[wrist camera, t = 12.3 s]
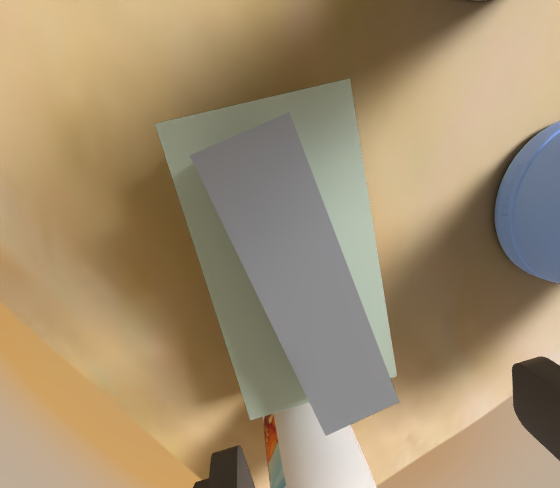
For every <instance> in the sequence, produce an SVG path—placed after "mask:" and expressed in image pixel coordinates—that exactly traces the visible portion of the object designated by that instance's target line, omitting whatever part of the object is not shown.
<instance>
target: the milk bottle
mask: <svg viewBox="0 0 560 488" xmlns="http://www.w3.org/2000/svg"><path fill="white" fill-rule="evenodd" d="M263 425H264V435H265V444H266V453H267V463H268V471H269V480H270V488H377V487H376V484H375V482H374V479H373V477H372V474H371V472H370V469H369V467H368V464H367V462H366V460H365V457H364V455H363V453H362V450H361V448H360V446H359V443H358V441H357V438H356V436H355V434H354V432H353V429H352V427H351V425H349V426H347V427H344V428H342V429H340V430H338V431H336V432H334V433H331V434H329V435H327V436H325V434H324V432H323V429H322V427H321V425H320V423H319V421H318V419H317V417H316V415H315V413H314V411H313V409H312V407H311V405H310V403H307V404H303V405H300V406H297V407H293V408H290V409H287V410H283V411H280V412H277V413H273V414H270V415H267V416H264V417H263Z"/></svg>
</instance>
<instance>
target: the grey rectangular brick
mask: <svg viewBox="0 0 560 488" xmlns="http://www.w3.org/2000/svg"><path fill="white" fill-rule="evenodd" d="M190 157H191V159H192V162H193V164H194V166H195V168H196V170H197V172H198V174H199V176H200V178H201V180H202V182H203V184H204V186H205V188H206V190H207V192H208V195H209V197H210V199H211V201H212V203H213V205H214V207H215V209H216V211H217V213H218V215H219V217H220V219H221V221H222V223H223V225H224V227H225V230H226V232H227V234H228V236H229V238H230V240H231V242H232V244H233V246H234V248H235V250H236V252H237V254H238V256H239V258H240V260H241V263H242V265H243V267H244V269H245V271H246V273H247V275H248V277H249V279H250V281H251V283H252V285H253V287H254V289H255V291H256V293H257V296H258V298H259V300H260V302H261V304H262V306H263V308H264V310H265V312H266V314H267V316H268V318H269V320H270V322H271V324H272V326H273V328H274V331H275V333H276V335H277V337H278V339H279V341H280V343H281V345H282V347H283V349H284V351H285V353H286V355H287V357H288V359H289V361H290V364H291V366H292V368H293V370H294V372H295V374H296V376H297V378H298V380H299V382H300V384H301V386H302V388H303V390H304V392H305V394H306V397H307V399H308V401H309V403H310V405H311V407H312V409H313V411H314V413H315V415H316V417H317V419H318V421H319V423H320V425H321V427H322V429H323V432H324V434H325V436H327V435H329V434H331V433H334V432H336V431H338V430H340V429H342V428H344V427H347V426H349V425H351V424H353V423H355V422H357V421H359V420H362V419H364V418H366V417H368V416H370V415H372V414H375V413H377V412H379V411H381V410H383V409H385V408H388V407H390V406H392V405H394V404H396V403H398V402H399V400H398V397H397V394H396V392H395V389H394V386H393V384H392V381H391V379H390V376H389V373H388V371H387V368H386V365H385V363H384V360H383V357H382V355H381V352H380V350H379V347H378V344H377V342H376V339H375V336H374V334H373V331H372V329H371V326H370V323H369V321H368V318H367V315H366V313H365V310H364V307H363V305H362V302H361V300H360V297H359V294H358V292H357V289H356V286H355V284H354V281H353V279H352V276H351V273H350V271H349V268H348V265H347V263H346V260H345V258H344V255H343V252H342V250H341V247H340V244H339V242H338V239H337V236H336V234H335V231H334V229H333V226H332V223H331V221H330V218H329V215H328V213H327V210H326V208H325V205H324V202H323V200H322V197H321V194H320V192H319V189H318V186H317V184H316V181H315V179H314V176H313V173H312V171H311V168H310V165H309V163H308V160H307V158H306V155H305V152H304V150H303V147H302V144H301V142H300V139H299V136H298V134H297V131H296V129H295V126H294V123H293V121H292V118H291V115H290V113H289V112H288V113H286V114H284V115H281V116H279V117H277V118H274V119H272V120H270V121H268V122H265V123H263V124H261V125H258V126H256V127H254V128H252V129H249V130H247V131H245V132H242V133H240V134H238V135H236V136H233V137H231V138H229V139H226V140H224V141H222V142H219V143H217V144H215V145H213V146H210V147H208V148H206V149H203V150H201V151H199V152H197V153H194V154H192V155H190Z"/></svg>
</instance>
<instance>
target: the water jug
mask: <svg viewBox="0 0 560 488" xmlns="http://www.w3.org/2000/svg"><path fill="white" fill-rule="evenodd" d="M495 227H496V232H497V236H498V239H499V242H500V244H501V247H502V249H503V250H504V252H505V254H506V255H507V256H508V258H509V259H510V260H511V261H512V262H513V263H514V264H515V265H516V266H517V267H519V268H520V269H522V270H523V271H525V272H527V273H529V274H531V275H534V276H536V277H539V278H541V279H544V280H547V281H550V282H554V283H559V284H560V121H558V122H556V123H554V124H552V125H550V126H548V127H547V128H545V129H544V130H542V131H541V132H539V133H538V134H537V135H536V136H534V137H533V138H532V139H531V140H530V141H529V142H528V143H527V144H526V145H525V146H524V147H523V148H522V149H521V150H520V151H519V153H518V154H517V155H516V156H515V158H514V159H513V161H512V162H511V164H510V165H509V167H508V169H507V171H506V173H505V175H504V177H503V179H502V182H501V184H500V187H499V191H498V194H497V199H496V205H495Z"/></svg>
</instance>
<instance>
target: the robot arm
mask: <svg viewBox="0 0 560 488" xmlns="http://www.w3.org/2000/svg"><path fill="white" fill-rule="evenodd" d="M472 1H485V0H472ZM512 381H513V405H514V410H515V413H516V415H517V417H518V419H519V420H520V422H521V423H522V425H523V426H524V427H525V428H526V429H527V430H528V432H530V433H531V434H532V435H533V436H534V437H535V438H536V439H537V440H538V441H539V442H540V443H541V444H542V445H543V446H544V447H546V448H547V449H548V450H549V451H550V452H551V453H552V454H553V455H554V456H555V457H556V458H557V459H559V461H560V366H559V365H558V364H556V363H555V362H553V361H551V360H550V359H548V358H546V357H536V358H533V359H530V360H526V361H523V362H520V363H516V364H514V365H513V367H512ZM193 488H255V485H254V482H253V479H252V477H251V474H250V471H249V468H248V465H247V462H246V459H245V457H244V454H243V451H242V448H241V446H240V445H238V446H235V447H232V448H228V449H225V450H222V451H218V452H215V453H213V454H212V457H211V464H210V475H209V478H208V479H205V480H202V481H198V482H196V483H195V485H194V487H193Z"/></svg>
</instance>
